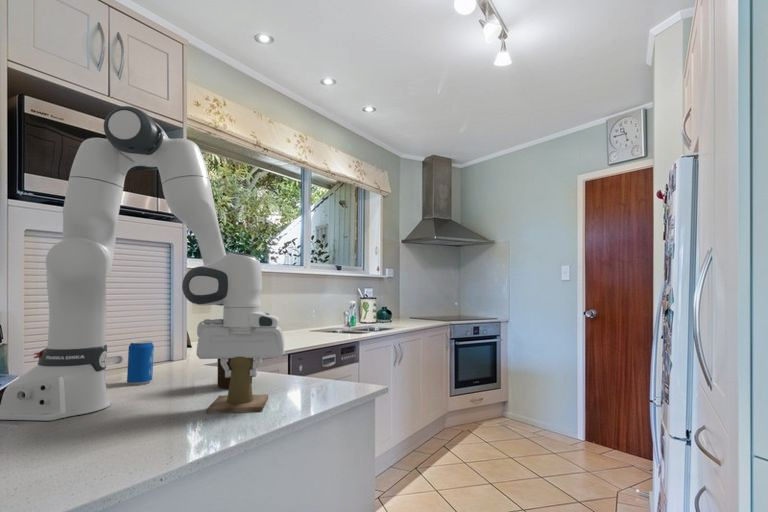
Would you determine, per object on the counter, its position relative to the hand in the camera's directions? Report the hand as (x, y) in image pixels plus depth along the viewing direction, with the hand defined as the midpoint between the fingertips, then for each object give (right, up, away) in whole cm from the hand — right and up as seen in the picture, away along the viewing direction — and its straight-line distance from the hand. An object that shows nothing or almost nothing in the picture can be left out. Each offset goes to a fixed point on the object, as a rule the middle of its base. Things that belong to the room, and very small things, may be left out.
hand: (241, 376), depth 106 cm
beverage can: (-37, -8, +23) cm, 44 cm away
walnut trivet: (0, -7, -1) cm, 7 cm away
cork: (0, -6, 0) cm, 6 cm away
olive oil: (-8, -8, +21) cm, 24 cm away
